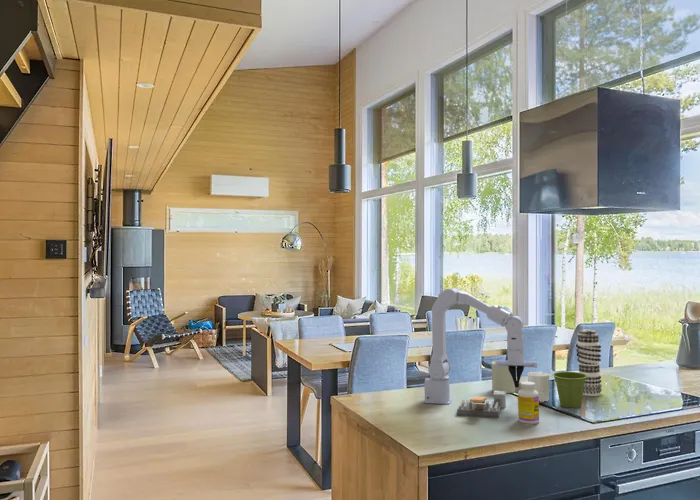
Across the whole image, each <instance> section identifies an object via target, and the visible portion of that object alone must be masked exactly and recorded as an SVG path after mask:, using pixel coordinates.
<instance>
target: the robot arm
mask: <svg viewBox="0 0 700 500" xmlns="http://www.w3.org/2000/svg"><path fill="white" fill-rule="evenodd" d="M456 305H468V306H470V307H472V308H474V309H476V310H478V311H480V312H482V313H484V314H485V315H486V317H487V319H488V320H489V321H491V322H494V323H495V324H497V325H499V326H501V327H502V328H503V327H504V328H505V329H506V333H507V334H506V335H507V336H506V342H507V343H506V347H507V350H506V351H507V359H504V360H503V359H502V360H498V359H497V360H494V361H495V366H496V367H498V366H505V367H508V369H509V372H510V374H511V376H512V378H513V381H514V385H515V388H520V380H521V378H522V375H523V372H524V369H525V368H535V369H536V368H538V362H537V361H535V360H534V361H532V360H525V353H524V351H525V347H524V344H525V343H524V335H523V334H524V332H523V328H524V324H525V323H524V320H523V318H521V316H519V315H517V314H514V313H513V312H509V311H507V310H506V309H504V308H503V307H502V306H501V305H496V304H493V305H489V304H488V303H486V302H484V301H482V300H481V299H479V298H477V297H475V296H474V295H472V294H470V293H469V292H467V291H465V290H462V289H459V288H458V287H451V288H446V289H443V290H442V291H441V292H440V293H439V294H438V296H437V298H436V300H435V301H434V303H433V305H432V307H431V331H432V332H431V336H432V342H431V343H432V354H431V356H430V357H431V358H430V363H429V366H428V374H429V377H425V379H424V387H423V388H424V403H425V404H438V405H440V404H441V405H450V404H451V402H452V401H453V397H451V390H450V376H449V373H450V372H451V364H450V363H449V356H448V354H447V336H446V335H447V334H446V333H447V331H446V312H447V311H448V310H449V309H450V308H451V307H453V306H456Z"/></svg>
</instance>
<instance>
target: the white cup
mask: <svg viewBox="0 0 700 500" xmlns="http://www.w3.org/2000/svg"><path fill="white" fill-rule="evenodd" d="M527 382H534V383H535V390H536V391H537V392H538V394H539V401H540V402H539V403H545V402H544V401H547V402H548V400H549V401H550V399H549V396H550V395H549V394H550V374H549V372H542V371H531V372H527Z"/></svg>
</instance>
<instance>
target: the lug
mask: <svg viewBox="0 0 700 500" xmlns="http://www.w3.org/2000/svg"><path fill="white" fill-rule="evenodd" d="M506 394H507V393H506V391H494V392H493V395H492V397H493V402H494V405H495V404H496V402H498V405H500V407H501V409H502V408H503V409H504V408H505V409H506V408H507V395H506Z"/></svg>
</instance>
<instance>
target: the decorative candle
mask: <svg viewBox="0 0 700 500" xmlns="http://www.w3.org/2000/svg"><path fill="white" fill-rule="evenodd" d="M576 334H577V342H576V344H575V348H577V349H575V350H576V356H577V359H576V360H577V364H578V373H582V374H586V375H587V378H586V380H585V384H584V390H583V396H585V397H586V396H587V397H588V396H589V397H599V396H602V395H603V394H602V393H603V392H602V391H603V389H602V384H601V383H602V380H601V379H602V376H601V371H600V368H601V367H600V366H601V364H602V363H601V361H602V359H601V357H602V355H601V354H600V353H601V352H602V349H601V348H602V345H600V341H599V338H600V337H599V333H598V331H596V330H595V329H585V328H584V329H580V330H579V331H578V332H577V333H576Z"/></svg>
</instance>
